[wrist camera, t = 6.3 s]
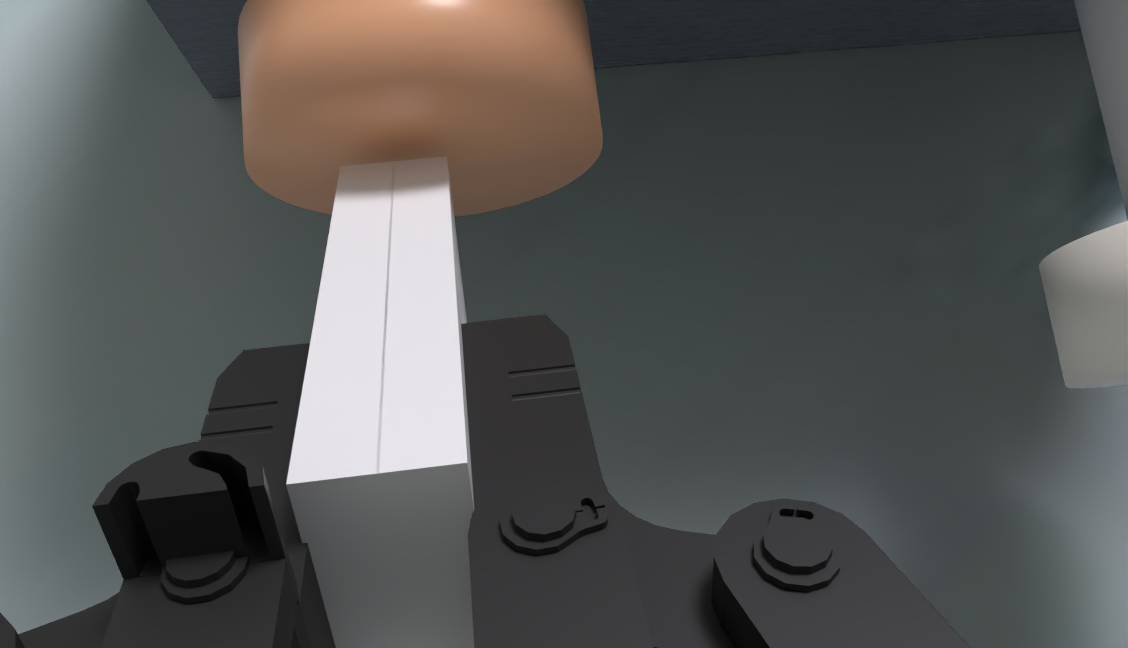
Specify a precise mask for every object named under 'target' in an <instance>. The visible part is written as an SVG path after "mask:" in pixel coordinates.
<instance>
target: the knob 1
mask: <svg viewBox="0 0 1128 648" xmlns="http://www.w3.org/2000/svg"><path fill="white" fill-rule="evenodd" d="M238 46H239V66H240V87H241V107H242V127H243V148H244V163H245V169H246V171H247V173H248V175H249V177H250V178H251V179H252V180H253V182H254V183H255V184H256V185H257V186H258V187H260V188H261V189H262V190H264V191H265V192H267V193H268V194H270V195H272V196H274V197H275V198H277V199H279V200H282V201H284V202H287V203H289V204H292V205H294V206H297V207H301V208H304V209H307V210H311V211H315V212H320V213H324V214H330V215H332V212H333V206H334V200H335V194H336V189H337V183H338V177H339V171H340V166H348V165H359V164H369V163H380V162H391V161H401V160H412V159H423V158H433V157H444V156H447V160H448V168H449V176H450V185H451V193H452V201H453V209H454V217H459V216H466V215H472V214H479V213H484V212H489V211H494V210H498V209H502V208H506V207H510V206H514V205H518V204H521V203H524V202H527V201H531V200H533V199H536V198H539V197H541V196H544V195H547V194H549V193H551V192H553V191H555V190H558V189H560V188H562V187H564V186H565V185H567V184H569V183H571V182H572V181H574V180H575V179H577V178H578V177H580V176H581V175H582V174H584V173H585V172H586V171H587V170H588V169H589V168H590V167H591V166H592V165H593V164H594V163H595V161H596V160H597V159H598V157H599V155H600V153H601V150H602V147H603V134H602V126H601V118H600V111H599V103H598V95H597V88H596V80H595V72H594V65H593V57H592V50H591V42H590V34H589V27H588V19H587V13H586V9H585V4H584V2H583V0H247V2H246V3H245V4H244V7H243V9H242V12H241V14H240V17H239V23H238Z"/></svg>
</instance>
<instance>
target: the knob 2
mask: <svg viewBox="0 0 1128 648" xmlns="http://www.w3.org/2000/svg"><path fill="white" fill-rule="evenodd" d="M1074 3H1075V7H1076V11H1077V15H1078V19H1079V23H1080V27H1081V31H1082V35H1083V39H1084V44H1085V48H1086V52H1087V56H1088V60H1089V64H1090V68H1091V72H1092V76H1093V80H1094V84H1095V88H1096V93H1097V97H1098V101H1099V105H1100V109H1101V113H1102V117H1103V121H1104V125H1105V129H1106V133H1107V137H1108V141H1109V146H1110V150H1111V154H1112V158H1113V162H1114V166H1115V170H1116V174H1117V178H1118V182H1119V186H1120V190H1121V194H1122V199H1123V203H1124V207H1125V211H1126V215H1127V219H1128V0H1074ZM1039 270H1040V275H1041V279H1042V284H1043V288H1044V293H1045V297H1046V302H1047V306H1048V311H1049V315H1050V320H1051V324H1052V329H1053V333H1054V338H1055V342H1056V347H1057V351H1058V356H1059V360H1060V365H1061V369H1062V374H1063V378H1064V383H1065V386H1066V387H1067V388H1101V387H1114V386H1125V385H1128V221H1125V222H1122V223H1119V224H1116V225H1113V226H1110V227H1107V228H1105V229H1102V230H1099V231H1096V232H1094V233H1091V234H1089V235H1087V236H1084V237H1082V238H1079V239H1077V240H1075V241H1073V242H1070V243H1068V244H1066V245H1064V246H1062V247H1060V248H1059V249H1057V250H1055V251H1053V252H1052V253H1050V254H1049V255H1047V256H1046V257H1045V258H1044V259H1043V260H1042V261H1041V262H1040V264H1039Z"/></svg>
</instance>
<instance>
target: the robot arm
mask: <svg viewBox="0 0 1128 648" xmlns="http://www.w3.org/2000/svg"><path fill="white" fill-rule="evenodd" d="M208 410H209V415H206V418H205V421H204V425H203V428H202V431H201V440H199V441H198V442H192V443H188V444H184V445H180V446H175V447H171V448H167V449H163V450H161V451H158V452H156V453H154V454H152V455H150V456H148V457H146V458H144V459H141V460H139V461H137V462H135V463H133V464H132V465H130V466H129V467H128V468H126V469H125V470H124V471H123V472H121V473H120V474H119V475H118V476H116V477H115V478H114V479H113V480H111V481H110V482H109V483H108V484H107V485H106V486H105V488H104V489H103V491H102V492H101V494H100V495H99V497H98V498H97V500H96V501H95V503H94V504H93V506H92V507H93V509H94V511H95V514H96V516H97V518H98V521H99V523H100V525H101V528H102V530H103V532H104V535H105V537H106V539H107V542H108V544H109V546H110V549H111V551H112V553H113V556H114V558H115V560H116V563H117V565H118V567H119V570H120V572H121V574H122V577H123V579H124V580H123V583H122V586H121V589H120V592H119V593H117V594H116V595H114V596H112V597H111V598H109V599H108V600H106V601H103V602H101V603H99V604H97V605H94V606H92V607H90V608H88V609H86V610H83V611H81V612H78V613H75V614H73V615H70V616H67V617H65V618H62V619H59V620H56V621H54V622H51V623H48V624H46V625H43V626H40V627H37V628H35V629H32V630H29V631H27V632H24V633H21V634H17V632H16V630H15V629H14V627H13V626H12V625H11V624H10V623H9V622H8V621H7V620H6V618H5V617H4V616H3V615H2V614H1V613H0V648H970V647H969V646H968V645H967V643H966V642H965V641H964V640H963V639H962V638H961V637H960V636H959V635H958V634H957V633H956V631H955V630H954V629H953V628H952V627H951V626H950V625H949V624H948V623H947V622H946V620H945V619H944V618H943V617H942V616H941V615H940V614H939V613H938V612H937V611H936V609H935V608H934V607H933V606H932V605H931V604H930V603H929V602H928V601H927V600H926V598H925V597H924V596H923V595H922V594H921V593H920V592H919V591H918V590H917V589H916V587H915V586H914V585H913V584H912V583H911V582H910V581H909V580H908V579H907V578H906V577H905V575H904V574H903V573H902V572H901V571H900V570H899V569H898V568H897V567H896V566H895V564H894V563H893V562H892V561H891V560H890V559H889V558H888V557H887V556H886V555H885V553H884V552H883V551H882V550H881V549H880V548H879V547H878V546H877V545H876V544H875V542H874V541H873V540H872V539H871V538H870V537H869V536H868V535H867V534H866V533H865V532H864V531H863V530H862V529H861V528H859V527H858V526H857V525H855V524H854V523H853V522H852V521H850V520H849V519H848V518H847V517H845V516H844V515H843V514H841V513H838V512H836V511H833V510H831V509H828V508H826V507H823V506H821V505H818V504H816V503H813V502H806V501H797V500H789V499H778V500H772V501H765V502H759V503H754V504H752V505H750V506H748V507H746V508H744V509H742V510H740V511H739V512H737V513H735V514H733V515H731V516H730V517H729V519H728V520H727V521H726V523H725V524H724V525H723V527H722V528H721V529H720V530H719V532H718V533H717V535H710V534H702V533H694V532H686V531H679V530H674V529H669V528H665V527H660V526H656V525H653V524H651V523H649V522H646V521H644V520H642V519H639V518H637V517H635V516H634V515H632V514H631V513H629V512H628V511H627V510H625V509H624V508H622V507H621V506H620V505H619V504H618V503H617V502H616V501H615V500H614V498H613V497H612V496H611V495H610V494H609V493H608V491H607V488H606V486H605V484H604V481H603V479H602V476H601V471H600V467H599V463H598V459H597V455H596V451H595V447H594V442H593V438H592V434H591V430H590V426H589V422H588V417H587V413H586V409H585V405H584V401H583V397H582V393H581V391H580V384H579V380H578V376H577V372H576V370H575V364H574V359H573V355H572V351H571V347H570V343H569V339H568V336H567V335H566V334H565V333H564V332H563V331H562V330H560V329H559V328H558V327H557V326H556V325H555V324H554V323H553V322H552V321H551V320H550V319H549V318H548V317H547V316H546V315H537V316H528V317H519V318H510V319H500V320H491V321H482V322H473V323H467V317H466V308H465V300H464V292H463V284H462V275H461V267H460V259H459V251H458V242H457V234H456V226H455V218H454V209H453V201H452V193H451V185H450V176H449V168H448V160H447V156H444V157H433V158H423V159H412V160H401V161H391V162H380V163H369V164H359V165H348V166H340V171H339V177H338V183H337V189H336V194H335V200H334V206H333V212H332V218H331V224H330V230H329V236H328V241H327V247H326V253H325V259H324V265H323V271H322V277H321V283H320V288H319V294H318V300H317V306H316V312H315V318H314V324H313V330H312V335H311V341H310V343H307V344H298V345H289V346H280V347H270V348H261V349H252V350H243V352H242V353H241V354H240V355H239V356H238V357H237V358H236V359H235V360H234V361H233V362H232V363H231V364H230V366H229V367H228V368H227V369H226V370H225V371H224V372H223V373H222V374H221V375H220V376H219V377H218V378H217V381H216V385H215V388H214V391H213V395H212V398H211V401H210V405H209V408H208Z"/></svg>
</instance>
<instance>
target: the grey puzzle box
mask: <svg viewBox="0 0 1128 648" xmlns="http://www.w3.org/2000/svg"><path fill="white" fill-rule="evenodd" d="M147 2H148V3H149V5H150V6H151V8H152V9H153V11H154V12H155V14H156V15H157V17H158V18H159V20H160V21H161V22H162V24H163V25H164V27H165V28H166V30H167V31H168V33H169V34H170V36H171V37H172V39H173V40H174V42H175V43H176V45H177V46H178V48H179V49H180V50H181V52H182V53H183V55H184V56H185V58H186V59H187V61H188V62H189V64H190V65H191V67H192V68H193V70H194V71H195V73H196V74H197V76H198V77H199V78H200V80H201V81H202V83H203V84H204V86H205V87H206V89H207V90H208V92H209V93H210V95H211V96H212V98H217V97H230V96H241V87H240V66H239V46H238V23H239V17H240V14H241V12H242V9H243V7H244V4H245V3H246V2H247V0H147ZM583 2H584V4H585V9H586V13H587V19H588V27H589V34H590V42H591V50H592V57H593V65H594V68H602V67H615V66H628V65H641V64H654V63H667V62H679V61H692V60H705V59H718V58H731V57H744V56H757V55H769V54H782V53H795V52H808V51H821V50H834V49H846V48H859V47H872V46H885V45H898V44H911V43H924V42H936V41H949V40H962V39H975V38H988V37H1001V36H1013V35H1026V34H1039V33H1052V32H1065V31H1078V30H1081V27H1080V23H1079V19H1078V15H1077V11H1076V7H1075V3H1074V0H583Z"/></svg>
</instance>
